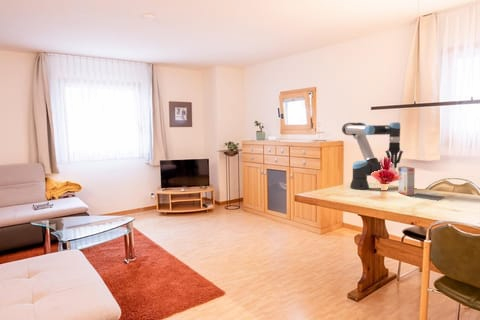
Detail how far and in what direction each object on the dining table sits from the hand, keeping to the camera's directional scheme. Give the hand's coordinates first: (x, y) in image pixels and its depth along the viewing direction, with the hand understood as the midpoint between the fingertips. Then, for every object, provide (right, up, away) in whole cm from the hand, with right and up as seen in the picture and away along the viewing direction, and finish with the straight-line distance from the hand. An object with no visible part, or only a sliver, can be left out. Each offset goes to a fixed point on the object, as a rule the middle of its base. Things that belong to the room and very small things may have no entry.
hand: (393, 171), depth 251 cm
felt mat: (+17, -18, -16) cm, 30 cm away
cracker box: (+7, -17, -6) cm, 19 cm away
